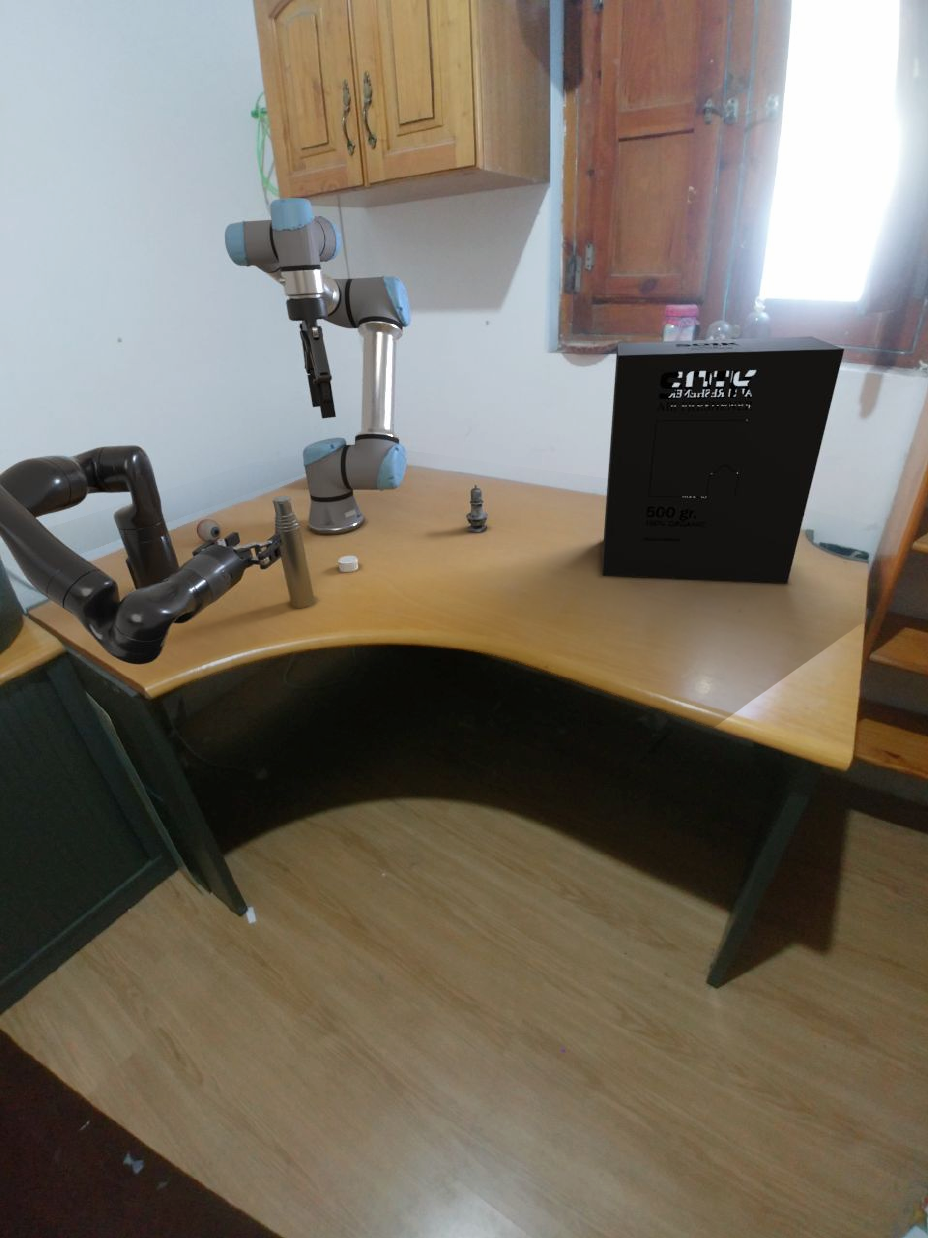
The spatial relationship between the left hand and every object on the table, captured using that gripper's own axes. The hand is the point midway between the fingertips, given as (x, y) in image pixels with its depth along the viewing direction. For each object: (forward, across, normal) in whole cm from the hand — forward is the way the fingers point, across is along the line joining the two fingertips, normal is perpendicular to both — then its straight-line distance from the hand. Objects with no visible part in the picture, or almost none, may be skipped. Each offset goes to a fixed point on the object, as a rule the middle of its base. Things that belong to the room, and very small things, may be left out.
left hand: (258, 537), depth 111 cm
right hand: (+28, +3, +16) cm, 33 cm away
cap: (+28, +3, -18) cm, 34 cm away
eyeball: (+40, -41, -20) cm, 61 cm away
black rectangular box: (+41, +81, -20) cm, 93 cm away
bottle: (+11, 0, -20) cm, 22 cm away
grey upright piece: (+56, +29, -20) cm, 66 cm away
